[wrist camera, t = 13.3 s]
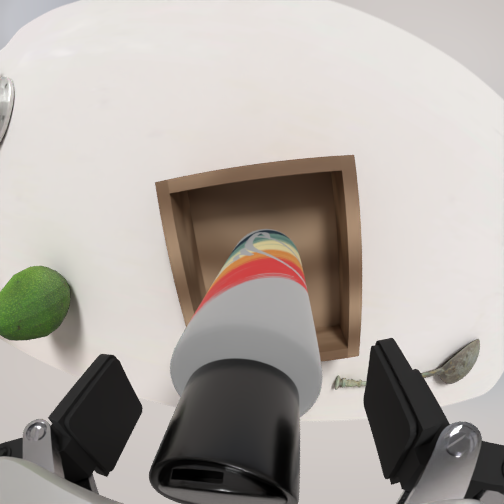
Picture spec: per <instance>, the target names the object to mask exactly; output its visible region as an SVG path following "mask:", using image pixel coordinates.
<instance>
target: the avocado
mask: <svg viewBox="0 0 504 504" xmlns="http://www.w3.org/2000/svg"><path fill="white" fill-rule="evenodd" d="M69 304H70V288H69V286H68V284H67V282H66V280H65V278H63V277H62V276H61V275H60V274H59V273H58V272H57V271H54V270H52V269H50V268H48V267H44V266H33V267H29V268H27V269H25V270H23V271H21V272H19V273H17V274H15V275H14V276H13V277H12V278H11V279H10V280H9V282H8V283H7V284H6V285H5V287H4V288H3V289H2V290H1V292H0V335H1V336H3V337H4V338H6V339H8V340H30V339H36V338H40V337H45V336H48V335H49V334H50V333H52V332H53V331H54V330H56V329H57V328H58V327H59V326H60V325H61V323H62V321H63V319H64V318H65V316H66V314H67V312H68V309H69Z"/></svg>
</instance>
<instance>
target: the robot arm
mask: <svg viewBox="0 0 504 504" xmlns="http://www.w3.org/2000/svg"><path fill="white" fill-rule="evenodd" d="M13 100H14V86H13V82H12V80H11V79H10V78H8V77H1V78H0V142H1V140H2V138H3V136H4V134H5V131H6V129H7V126H8V123H9V119H10V115H11V111H12V107H13ZM364 407H365V411H366V414H367V417H368V421H369V424H370V427H371V431H372V434H373V437H374V441H375V445H376V448H377V451H378V455H379V459H380V463H381V467H382V471H383V475H384V477H385V479H389V478H390V482H391V484H395V483H398V482H400V484H401V487H402V489H404V491H403V493H402V495H401V496H400V498H399V499H398V501H397V503H396V504H504V445H499V444H494V443H489V442H485V441H482V437H481V433H480V431H479V430H478V428H477V427H476V426H474V425H473V424H471V423H468V422H456V423H452V424H449V422H448V420H447V418H446V416H445V415H444V413H443V411H442V409H441V407H440V406H439V404H438V402H437V400H436V398H435V397H434V395H433V393H432V391H431V390H430V388H429V386H428V385H427V383H426V381H425V380H424V378H423V376H422V375H421V373H420V372H419V370H417V369H414V370H412V368H411V366H410V365H409V363H408V361H407V360H406V358H405V356H404V355H403V353H402V351H401V350H400V348H399V347H398V345H397V343H396V342H395V340H394V339H393V338H389V339H384V340H379V341H377V342H376V345H375V346H372V347H371V351H370V360H369V367H368V374H367V381H366V387H365V393H364ZM141 413H142V405H141V403H140V401H139V399H138V397H137V395H136V394H135V392H134V390H133V388H132V386H131V384H130V382H129V380H128V378H127V376H126V374H125V372H124V370H123V367H122V365H121V363H120V361H119V360H118V359H117V358H116V357H115V356H114V355H107V354H100V355H99V356H98V357H97V359H96V360H95V361H94V362H93V363H92V364H91V366H90V367H89V368H88V369H87V370H86V372H85V373H84V374H83V375H82V376H81V378H80V379H79V380H78V381H77V382H76V384H75V385H74V386H73V387H72V388H71V390H70V391H69V392H68V393H67V395H66V396H65V397H64V398H63V400H62V401H61V402H60V403H59V405H58V406H57V407H56V408H55V410H54V411H53V412H52V413H51V415H50V416H49V417H48V418H49V420H50V421H51V422H52V425H51V426H50V424H49V423H48V422H47V421H45V420H43V419H36V420H34V421H32V422H30V423H29V424H28V425H27V426H26V427H25V429H24V432H23V438H19V439H16V440H12V441H8V442H5V443H2V444H0V504H122V503H119V502H117V501H114V500H111V499H109V498H106V497H103V496H101V495H99V493H98V490H97V487H96V484H95V480H94V477H93V474H92V473H93V471H94V470H95V471H96V473H98V474H101V475H104V476H106V477H107V476H108V474H109V472H110V471H112V470H113V469H114V467H115V465H116V463H117V461H118V459H119V457H120V455H121V453H122V451H123V449H124V447H125V445H126V443H127V441H128V439H129V437H130V435H131V433H132V431H133V429H134V427H135V425H136V423H137V421H138V419H139V417H140V415H141Z"/></svg>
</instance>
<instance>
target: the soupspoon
mask: <svg viewBox="0 0 504 504" xmlns="http://www.w3.org/2000/svg"><path fill="white" fill-rule="evenodd" d="M479 350H480V341H479V339H477V340H475V341H473V342H471V343H470V344H469V345H467V346H466V347H465V348H463V349H462V350H461V351H460V352H459V353H457V354H456V355H455V356H454V357H453V358H452V359H450V360H449V361H448V362H447V363H446V364H445V365H443V366H442V367H441V368H438V369H435V370H432V371H428V372H424V373H421V375H422V376H423V378H426V377H430V376H434V375H437V374H439V375H440V377H441V379H442V381H444V382H445V383H447V384H452V383H455V382H457V381H459V380H461V379H462V378H463V377H465V376H466V375H467V374H468V373H469V371H470V370H471V369H472V367H473V366H474V364H475V362H476V360H477V357H478V354H479ZM339 386H341V387H342V388H344V387H345V386H346V387H353V386H358V387H360V386H366V381H362V380H359V381H358V382H357V381H355V380H352V379H351V380H349V379H348V380H346V379H345V378H343V379H340V377H339V375H338V376H337V379H336V384H335V390H337V388H338V387H339Z"/></svg>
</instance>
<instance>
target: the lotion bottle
mask: <svg viewBox="0 0 504 504" xmlns="http://www.w3.org/2000/svg"><path fill="white" fill-rule="evenodd" d="M170 373H171V378H172V382H173V384H174V387H175V389H176V391H177V393H178V394H179V396H180V397H181V398H180V400H179V402H178V405H177V407H176V409H175V412H174V414H173V416H172V419H171V421H170V423H169V426H168V428H167V430H166V433H165V435H164V438H163V440H162V442H161V444H160V447H159V449H158V452H157V454H156V456H155V459H154V461H153V464H152V466H151V469H150V472H149V480H150V483H151V485H152V486H153V488H154V489H155V490H156V491H157V492H158V493H160V494H161V495H163V496H164V497H166V498H168V499H170V500H173V501H175V502H178V503H181V504H298V501H299V483H300V482H299V481H300V480H299V479H300V417H301V416H303V415H304V414H305V413H306V412H307V411H308V410H309V409H310V408H311V407H312V406H313V404H314V403H315V402H316V400H317V398H318V396H319V394H320V390H321V385H322V367H321V360H320V354H319V348H318V342H317V337H316V331H315V326H314V321H313V316H312V311H311V306H310V301H309V296H308V291H307V286H306V282H305V277H304V273H303V268H302V264H301V259H300V256H299V253H298V250H297V248H296V246H295V244H294V243H293V242H292V240H291V239H290V238H289V237H287V236H286V235H285V234H283V233H281V232H279V231H276V230H272V229H260V230H256V231H253V232H251V233H249V234H247V235H246V236H244V237H243V238H242V239H241V240H240V241H239V243H238V244H237V245H236V247H235V248H234V250H233V251H232V253H231V255H230V256H229V258H228V259H227V261H226V263H225V264H224V266H223V268H222V269H221V271H220V272H219V274H218V276H217V277H216V279H215V281H214V282H213V284H212V285H211V287H210V289H209V290H208V292H207V294H206V295H205V297H204V299H203V300H202V302H201V304H200V305H199V307H198V309H197V310H196V312H195V314H194V315H193V317H192V319H191V320H190V322H189V324H188V325H187V327H186V329H185V331H184V332H183V334H182V336H181V338H180V340H179V341H178V343H177V345H176V347H175V349H174V352H173V355H172V359H171V363H170Z"/></svg>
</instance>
